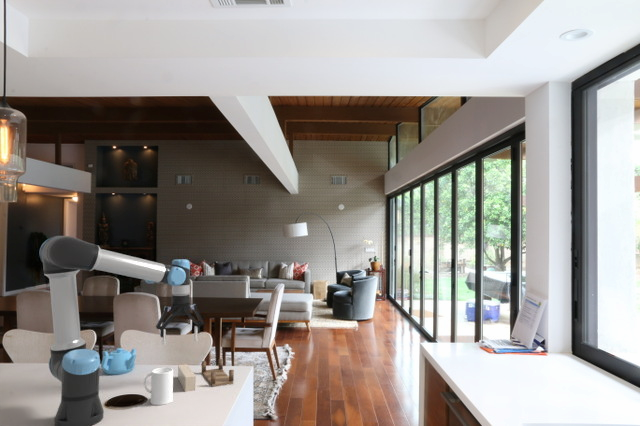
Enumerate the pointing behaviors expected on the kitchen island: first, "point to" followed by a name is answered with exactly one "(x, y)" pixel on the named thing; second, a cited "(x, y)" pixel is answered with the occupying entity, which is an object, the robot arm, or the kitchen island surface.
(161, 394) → the mug
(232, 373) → the rack
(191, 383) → the beige long block
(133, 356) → the teapot
